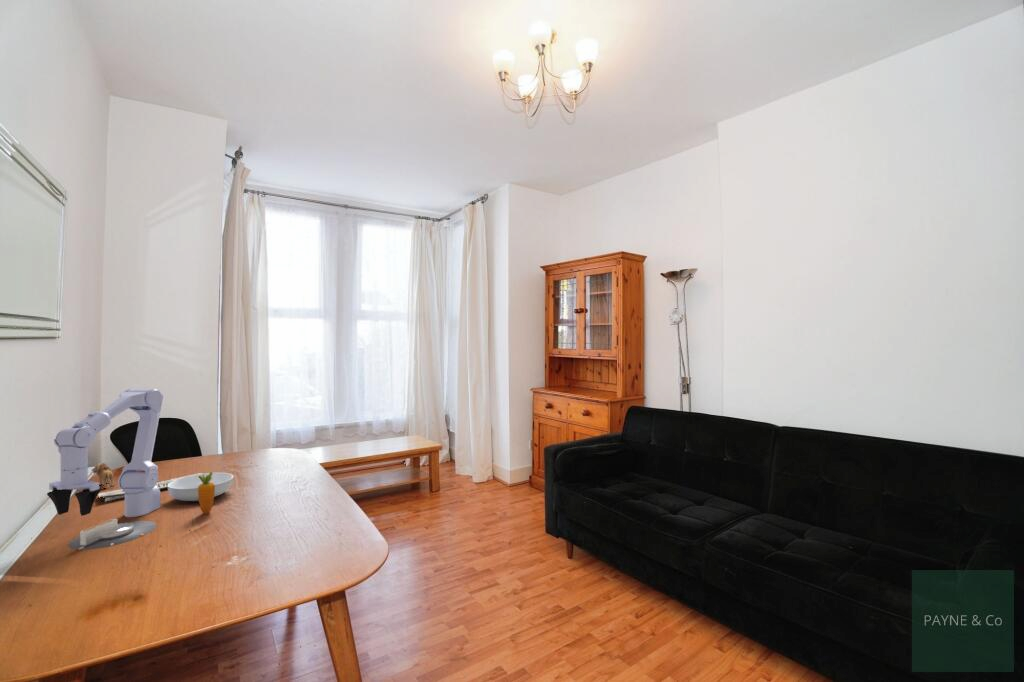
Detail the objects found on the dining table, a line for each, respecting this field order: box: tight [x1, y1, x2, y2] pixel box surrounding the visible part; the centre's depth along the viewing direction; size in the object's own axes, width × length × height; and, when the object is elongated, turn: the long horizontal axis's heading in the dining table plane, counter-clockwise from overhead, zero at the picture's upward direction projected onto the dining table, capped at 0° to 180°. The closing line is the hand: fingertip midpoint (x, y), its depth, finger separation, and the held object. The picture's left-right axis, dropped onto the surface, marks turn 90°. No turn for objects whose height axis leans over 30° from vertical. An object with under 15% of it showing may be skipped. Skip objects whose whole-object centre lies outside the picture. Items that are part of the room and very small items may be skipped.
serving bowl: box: [167, 472, 234, 502], centre depth 169 cm, size 21×21×7 cm
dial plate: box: [68, 520, 157, 551], centre depth 134 cm, size 20×20×1 cm
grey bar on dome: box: [79, 518, 134, 545], centre depth 132 cm, size 14×9×5 cm, turn 174°
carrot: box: [198, 471, 215, 515], centre depth 150 cm, size 5×5×15 cm
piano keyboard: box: [97, 472, 203, 503], centre depth 179 cm, size 35×12×4 cm, turn 144°
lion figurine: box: [91, 462, 115, 489], centre depth 184 cm, size 15×5×9 cm, turn 63°
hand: (74, 513), depth 129 cm, fingers open, 7 cm apart
